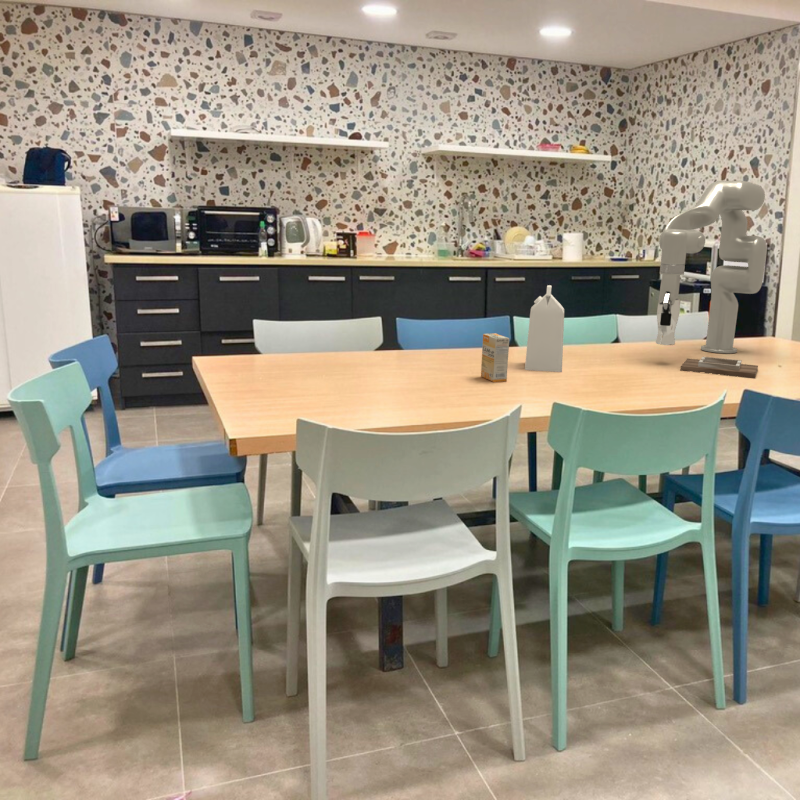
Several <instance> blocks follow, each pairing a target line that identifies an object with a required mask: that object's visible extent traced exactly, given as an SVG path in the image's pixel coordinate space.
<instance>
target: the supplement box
mask: <svg viewBox="0 0 800 800" xmlns="http://www.w3.org/2000/svg"><path fill="white" fill-rule="evenodd" d="M509 345H510V337H507V336H504V335H501V334H498V333H496V332H495V333H483V334H482V346H481V348H482V351H481V366H480V377H481V378H484V379H485V380H488V381H491V382H492V383H503V382H505V383H506V382H507V379H508V368H509V367H508V364H509V350H510V346H509Z"/></svg>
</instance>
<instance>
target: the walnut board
mask: <svg viewBox="0 0 800 800" xmlns="http://www.w3.org/2000/svg"><path fill="white" fill-rule="evenodd" d="M742 362H743V361H742V360H741V359H731V358H721V357H712V356H711V357H709V356H702V357H701V358H700V359H698V358H697V359H695V358H686V359H685V360H684V361H683V362H682V364H681V365H680V368H679V369H680V371H681V370H683V371H682V372H690V371H693V372H692V373H700V372H705V373H704V374H709V373H712V374H711V375H718V374H720V375H721V376H728V375H729V377H737V376H738V377H739V378H748V379H755V378H756V376H757V372H758V370H759V365H756V364H746V363H745V364H743V363H742ZM738 377H737V378H738Z"/></svg>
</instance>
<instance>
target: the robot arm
mask: <svg viewBox="0 0 800 800" xmlns="http://www.w3.org/2000/svg"><path fill="white" fill-rule="evenodd" d="M765 198H766V194H765V190H764V188H763V187H762V186H761V185H759V184H756V183H753V182H750V181H746V180H717V181H714V182H712V183H710V184H709V185H708V186H707V188H706V189H705V191H704V192H703V194H702V195H701V196H700V197H699V200H698V201H697V202H696V203H695V204H694V206H693V207H691V208H689V209H687V210H685V211H683V212H681V213H680V214H679V213H678V215H676V216H675V217H673V218H671V220H669V221H668V223H667V224H666V226H665V227H664V228H663V230H662V232H661V234H660V237H659V241H658V243H659V244H658V245H659V247H660V249H661V255H660V265H659V266H660V268H659V274H660V275H661V280H660V288H659V295H658V302H657V304H658V303H659V304H660V303H663V306H662V313H661V320H660V325H663V326H670V325H671V315H672V314H671V308H672V305H674V303H675V300H677V298H678V299H679V293H680V285H681V283H680V282H681V276H683V275H685V267H686V266H685V265H686V259H687V254H697V253H699V252H701V251H702V250H703V248H705V245H706V236H705V234H704V233H703V232H702V231H700V230H697V229H701V228H704V227H708V226H710V225H712V224H713V223H715V222H716V221H717V219H718V218H719V217H720V218H721V230H720V231H721V232H720V239H719V247H718V255H719V258H720V260H722V261H724V262H730V263H745V264H747V266H741V265H731V264H730V265H728V264H727V265H719V266H717V267H714V269H713V270H712V272H711V275H710V286H711V291H710V293H711V295H710V296H711V297H710V305H709V306H710V307H709V314H708V322H707V323H708V324H707V330H706V332H707V333H706V338H705V339H706V340H705V344H704V345H701V346H700V350H701V351H704V352H709V353H715V354H735V353H737V352H738V349H737V348H736V347H734V342H735V341H734V340H735V336H736V335H735V333H736V325H737V319H738V312H739V302H738V298H737V297H736V295H735V293H736V294H747V295H748V294H749V295H751V294H752V295H753V294H757V293H758V292H759V291H760V290H761V288H762V285H763V280H764V275H765V274H764V273H765V266H766V259H767V252H768V249H767V247H768V246H767V242H766V240H765V238H763V237H762V236H758V235H747V233H748V232H747V231H748V223H749V222H748V218H747V216H746V214H745V213H744V212H745V211H757V210H759V209H760V208H761V207H762V206H763V204H764V203H765ZM668 302H671V304H668ZM660 305H661V304H660ZM669 306H670V307H669Z"/></svg>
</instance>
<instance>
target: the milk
mask: <svg viewBox="0 0 800 800" xmlns="http://www.w3.org/2000/svg"><path fill="white" fill-rule="evenodd" d="M533 303H534V304H533V305H532V306H531V308H530V313H529V322H528V334H527V341H526V342H527V343H526V352H525V354H526V355H525V365H524V370H525V371H539V372H551V373H552V372H554V373H563V356H564V355H563V354H564V353H563V351H564V330H565V329H564V328H565V308H564V307H563V305H562V304H561V303H560V302H559V301H558V300H557V299H556V297H554V295H553V294H552V285H550V284H549V285H548V284H547V286H546V293H545V294H544V295H543V296H541V295H539V296H538V297H537V298H536V299H535V300H534V301H533Z"/></svg>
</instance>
